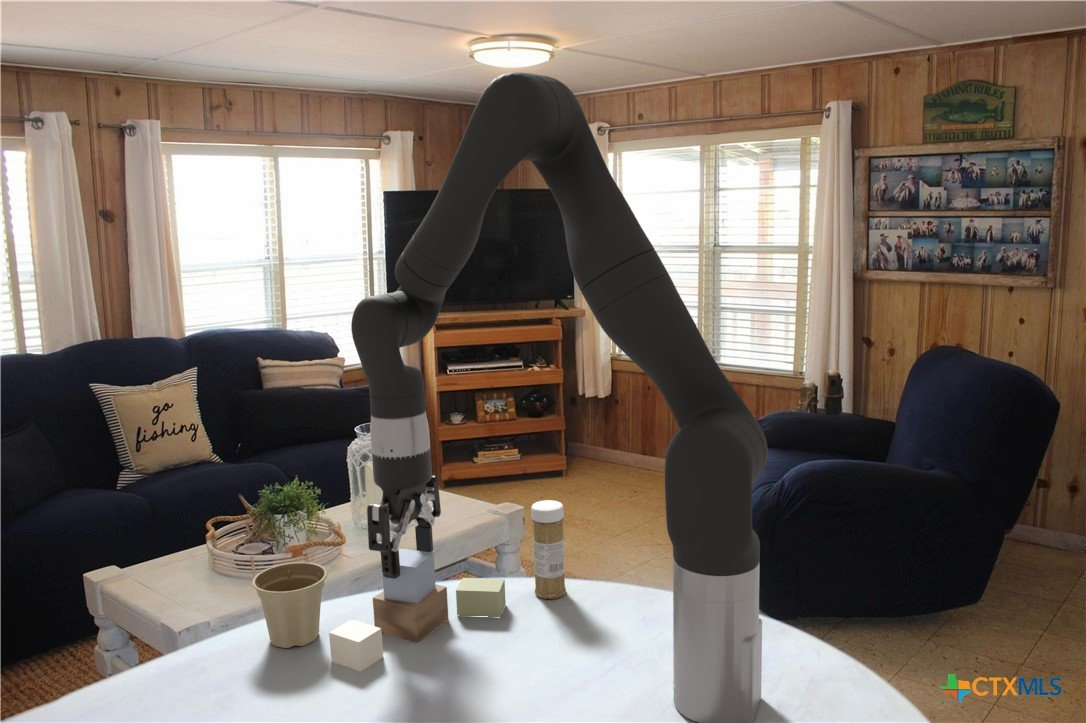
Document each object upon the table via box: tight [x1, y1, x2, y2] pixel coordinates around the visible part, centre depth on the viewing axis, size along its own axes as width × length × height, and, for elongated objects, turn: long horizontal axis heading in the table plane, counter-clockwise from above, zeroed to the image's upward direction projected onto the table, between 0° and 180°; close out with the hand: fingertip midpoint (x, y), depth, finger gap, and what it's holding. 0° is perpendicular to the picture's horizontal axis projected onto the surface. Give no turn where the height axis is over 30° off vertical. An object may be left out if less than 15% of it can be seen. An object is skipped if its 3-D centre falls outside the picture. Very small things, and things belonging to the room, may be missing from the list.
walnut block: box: [372, 583, 449, 643], centre depth 120 cm, size 7×7×5 cm
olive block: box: [455, 577, 507, 617], centre depth 124 cm, size 6×4×4 cm, turn 82°
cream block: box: [328, 619, 384, 672], centre depth 112 cm, size 5×4×4 cm
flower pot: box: [252, 561, 328, 649], centre depth 118 cm, size 9×9×9 cm
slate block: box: [382, 548, 437, 604], centre depth 119 cm, size 5×5×5 cm
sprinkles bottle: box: [530, 499, 567, 600], centre depth 128 cm, size 5×5×13 cm
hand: (409, 564), depth 119 cm, fingers open, 8 cm apart
